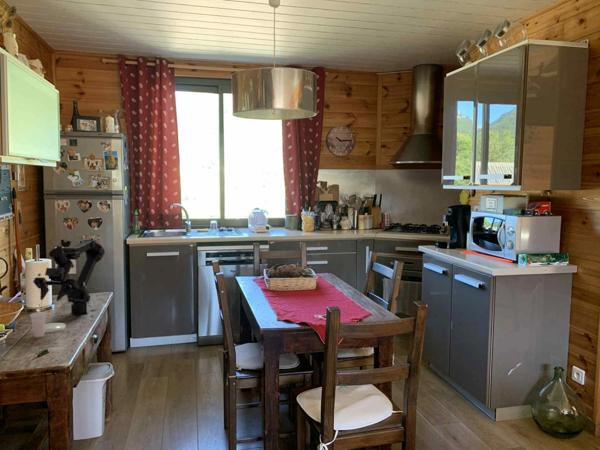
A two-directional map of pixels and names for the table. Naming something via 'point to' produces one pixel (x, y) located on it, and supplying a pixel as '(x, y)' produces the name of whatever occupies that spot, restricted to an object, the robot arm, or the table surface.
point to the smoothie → (38, 323)
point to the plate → (54, 327)
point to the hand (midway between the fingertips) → (49, 299)
